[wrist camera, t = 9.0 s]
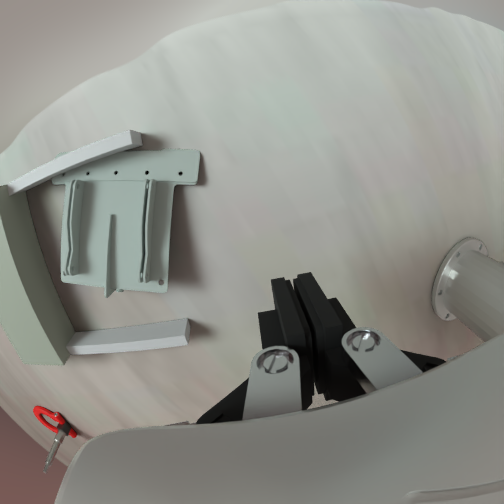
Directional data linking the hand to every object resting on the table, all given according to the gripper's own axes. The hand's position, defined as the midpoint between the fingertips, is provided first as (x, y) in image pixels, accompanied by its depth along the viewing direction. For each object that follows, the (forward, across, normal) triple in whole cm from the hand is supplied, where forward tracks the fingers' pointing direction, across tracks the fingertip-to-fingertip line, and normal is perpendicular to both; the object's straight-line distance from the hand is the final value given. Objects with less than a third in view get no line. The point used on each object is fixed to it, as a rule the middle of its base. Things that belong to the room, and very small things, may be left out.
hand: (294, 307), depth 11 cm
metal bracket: (+14, +13, -4) cm, 20 cm away
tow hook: (+13, +45, +28) cm, 55 cm away
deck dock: (+13, +21, -1) cm, 25 cm away
